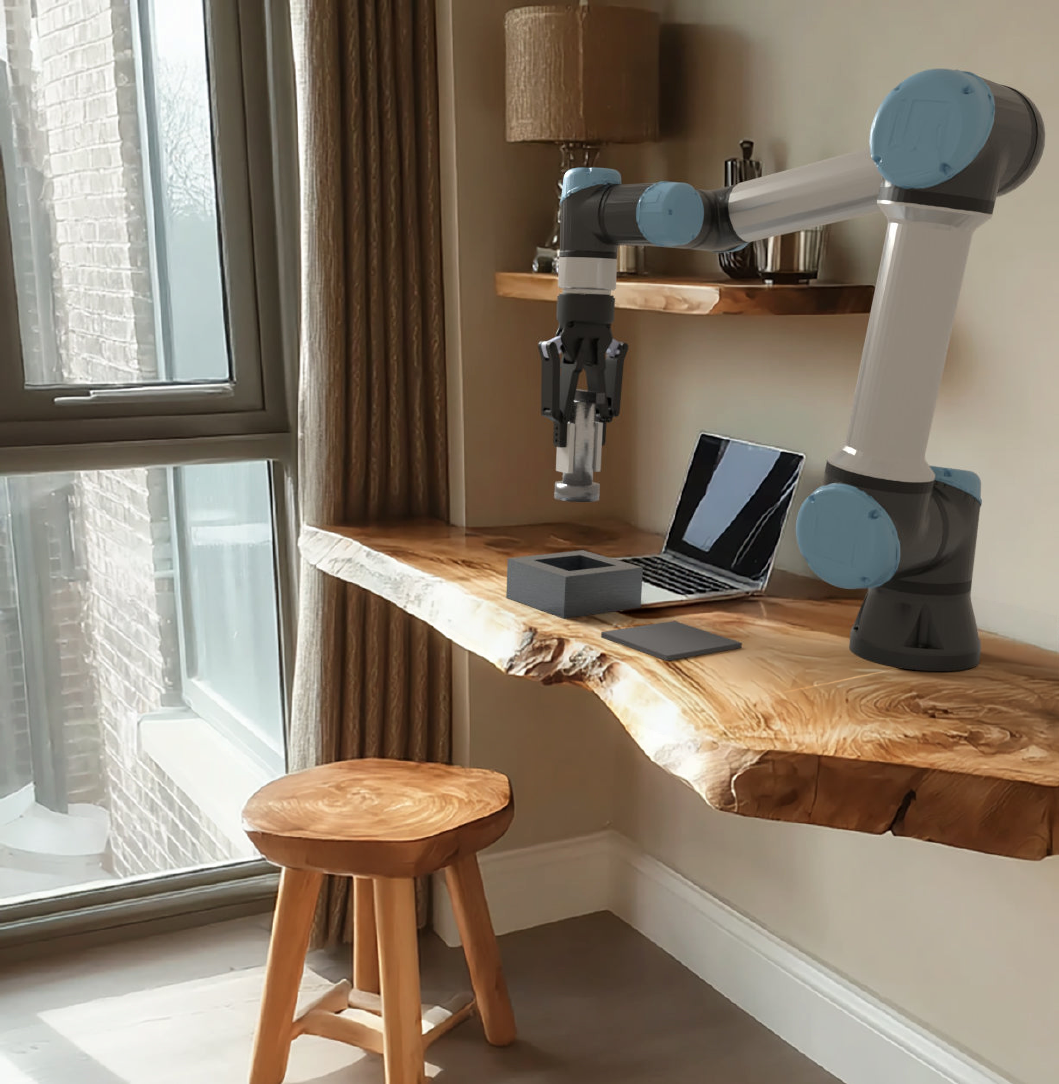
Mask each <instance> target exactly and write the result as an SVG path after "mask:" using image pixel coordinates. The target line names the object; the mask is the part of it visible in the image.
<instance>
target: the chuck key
mask: <svg viewBox="0 0 1059 1084" xmlns="http://www.w3.org/2000/svg"><path fill="white" fill-rule="evenodd" d="M604 402H605V393H603V392H595V391H588V389H587V390H586V389H580V388H577V389H576V394H575V398H574V403H573V408H572V413H571V418H570V421H569V423H573V424H575V434H574V456H573V473H564V472H562V480H558V481H555V482H554V492H553V493H554V495H553V498H554V499H556V500H559V501H563V502H564V501H565V502H570V503H571V502H572V503H589V502H590V503H591V502H593V503H594V502H597V501H598V502H599V501H600V489H601V488H600V487H601V485H600V483H599V482H595V481H593V480H594V471H593V461H594V440H595V419H596V404H604Z"/></svg>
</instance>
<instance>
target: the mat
mask: <svg viewBox="0 0 1059 1084" xmlns="http://www.w3.org/2000/svg"><path fill="white" fill-rule="evenodd" d="M600 637H601V638H603V639H606V640H609V641H611V642H614V643H617V644H620V645H622V646H625V647H628V648H630V649H633V650H636V651H639V652H642V653H643V654H644V653H645V654H647V655H650V656H652V657H655V658H657V659H661V660H663V661H666V662H667V661H669V662H670V661H675V660H680V659H686V658H690V657H695V656H702V655H706V654H713V653H719V652H724V651H729V650H735V649H742V648H743V647H742V646H743V645H742V644H743V643H742V642H741V641H738V640H735V639H731V638H729V637H726V636H722V635H719V634H717V633H713V632H710V631H707V630H704V629H702V628H699V627H695V626H692V625H689V624H687V623H686V624H685V623H683V622H680V621H677V620H670V621H664V622H659V623H658V622H657V623H651V624H647V625H646V624H645V625H639V626H632V627H626V628H620V629H614V630H613V629H612V630H606V631H601V633H600Z"/></svg>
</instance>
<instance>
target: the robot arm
mask: <svg viewBox="0 0 1059 1084" xmlns="http://www.w3.org/2000/svg"><path fill="white" fill-rule="evenodd" d="M874 114H875V115H874V117H873V120H872V123H871V126H870V131H869V143H868V144H869V147H865V148H861V149H858V150H854V151H851V152H848V153H843V154H840V155H837V156H833V157H830V158H829V157H828V158H826V159H822V160H818V161H815V162H811V163H808V164H807V163H806V164H804V165H799V166H797V167H792V168H790V169H786V170H783V171H778V172H775V173H771V174H768V175H764V176H760V177H757V178H753V179H750V180H745V181H742V182H739V183H737V184H732V185H728V186H725V187H720V188H718V189H711V190H707V189H702V188H701V189H700V188H694V186H692V185H691V184H689V183H686V182H676V181H668V180H664V181H663V180H662V181H659V182H647V183H646V182H645V183H644V182H643V183H628V184H627V183H626V184H624V183H622V176H621V173H620V172H619V171H618V170H616V169H613V168H607V167H605V168H604V167H575V168H570V169H568V170H567V171H566V172H565V174H564V176H563V181H562V189H561V190H562V191H561V196H560V198H561V199H560V201H559V206H560V229H559V230H560V231H559V232H560V234H559V254H558V255H559V256H558V275H557V276H558V277H557V278H558V279H557V287H558V288H559V289H562V292H561V293H558V295H557V296H556V297H557V299H556V300H557V301H556V320H557V323H558V328H557V331H556V333H555V337H553V338H551V339H549V340H547V341H545V340H540V341H539V342H538V343H537V347H538V352H539V355H540V359H541V368H540V369H541V370H540V371H541V373H540V374H541V377H540V378H541V379H540V380H541V382H540V383H541V388H540V389H541V391H540V399H541V401H540V408H541V409H540V414H541V416H542V417H543V418H547V419H548V420H549V421H551V422H553V433H552V434H553V439H552V440H553V441H552V443H553V447H556V458H555V459H556V460H555V471H556V472H558V473H563V472H564V473H573V456H574V434H575V424H573V423H569V421H570V418H571V413H572V408H573V403H574V398H575V394H576V389H578V382H579V378H580V373H582V372H583V370H584V371H585V378H586V385H587V390H588V391H595V392H603V393H605V402H604V404H596V419H595V440H594V461H593V472H597V473H599V472H601V470H602V469H601V467H602V450H603V449H602V446H603V447H604V446H605V444H606V441H607V440H606V437H607V435H606V434H607V433H606V432H607V423H609V424H610V423H611V422H612V421H613V418H617V417H619V416H620V411H621V400H622V390H623V389H622V387H623V377H624V376H623V375H624V365H625V364H624V363H625V359H626V356H627V353H628V351H629V345H628V343H627V342H622V341H618V340H616V339H614V336H613V332H612V328H611V326H612V324H613V322H614V321H615V309H616V308H615V307H616V297H614V294H613V295H612V291H616V289H617V270H618V269H617V268H618V252H619V250H618V248H619V246H621V247H622V246H638V247H639V246H641V247H643V246H644V247H649V246H650V247H658V248H659V247H661V248H662V247H663V248H673V249H674V248H675V249H683V250H684V249H686V250H694V251H695V250H696V251H706V252H711V253H714V254H715V253H716V254H722V253H731V252H738V251H740V250H743V249H744V248H746V247H747V246H748V245H749V244H750V243H751V242H756V241H759V240H765V239H769V238H773V237H777V236H782V235H787V234H791V233H795V232H799V231H804V230H808V229H812V228H813V229H814V228H817V227H820V226H825V225H829V224H833V223H834V224H835V223H838V222H843V221H846V220H852V219H855V218H861V217H865V216H869V215H873V214H876V213H877V214H878V213H883V215H884V216H885V217H886V219H887V227H886V232H885V236H884V237H885V238H884V243H883V247H882V252H881V258H880V263H879V268H878V273H877V277H876V282H875V287H874V294H873V299H872V304H871V307H870V308H871V309H870V313H869V319H868V322H867V329H866V333H865V339H864V344H863V349H862V352H861V358H860V365H859V369H858V375H857V379H856V384H855V387H854V388H855V390H854V394H853V399H852V403H851V409H850V415H849V420H848V425H847V429H846V435H845V439H844V440H845V441H844V443H843V444H842V445H841V446H840V447H839V448H838V449H836V450H834V451H833V452H831V453H830V454H828V456H827V459H826V464H825V467H824V473H823V478H822V484H821V486H819V487H817V488H816V489H815V490H814V491H812V492H811V493H810V494H809V495H808V496H807V497H806V498H805V500H804V501H803V502H802V504H801V505H800V508H799V510H798V513H797V516H796V522H795V536H796V541H797V546H798V549H799V551H800V554H801V556H802V557H803V559H804V560H805V561H806V562H807V564H808V568H809V569H810V570H811V571H812V572H813V573H814V574H815V575H816V576H817V577H819V578H820V579H821V580H822V581H824V582H826V583H828V584H830V585H832V586H834V587H837V588H840V589H846V590H857V589H868V590H867V592H866V594H865V597H864V598H863V601H862V604H861V605H860V608H859V611H858V612H857V615H856V619H855V620H854V623H853V625H852V627H851V629H850V632H849V633H850V635H849V644H848V646H849V647H848V648H849V650H850V652H852V653H853V654H854V655H856V656H857V657H859V658H862V659H864V660H867V661H869V662H873V663H876V664H880V665H883V666H888V667H889V666H890V667H893V668H899V669H905V670H913V669H915V671H925V672H954V671H962V670H963V671H964V670H968V669H971V668H975V667H976V666H978V665H979V664H980V660H981V650H982V642H981V639H980V637H979V631H978V625H977V621H976V616H975V612H974V608H973V602H972V596H971V594H972V592H971V591H972V584H973V583H972V582H973V577H974V575H973V573H974V568H975V567H974V566H975V558H976V557H975V556H976V547H977V539H978V538H977V537H978V530H979V521H980V512H981V507H982V503H983V500H982V497H981V495H982V494H981V493H982V480H981V478H980V476H979V475H978V474H977V473H976V472H974V471H972V470H967V469H959V468H950V467H942V466H936V465H929V464H928V462H927V460H926V452H927V447H928V442H929V437H930V433H931V429H932V424H933V419H934V415H935V409H936V405H937V400H938V397H939V392H940V387H941V383H942V377H943V375H944V374H943V373H944V369H945V364H946V359H947V355H948V350H949V345H950V341H951V336H952V331H953V327H954V322H955V316H956V313H957V308H958V303H959V300H960V299H959V298H960V295H961V290H962V285H963V281H964V276H965V271H966V267H967V262H968V257H969V252H970V247H971V244H972V238H973V234H974V233H975V232H976V230H977V229H978V228H980V227H982V225H984V224H985V223H987V222H989V220H991V219H992V217H993V213H994V209H995V205H996V200H997V198H1000V197H1002V196H1005V195H1007V194H1009V193H1011V192H1013V191H1014V190H1016V189H1017V188H1019V187H1020V186H1022V185H1023V184H1024V183H1025V182H1026V181H1028V179H1029V178H1030V177H1031V175H1033V173H1034V172H1035V171H1036V169H1037V167H1038V165H1039V164H1040V162H1041V159H1042V156H1043V153H1044V150H1045V146H1046V145H1045V144H1046V127H1045V122H1044V120H1043V117H1042V115H1041V112H1040V111H1039V108H1038V107H1037V106H1036V104H1035V102H1033V100H1032V99H1031V98H1030V97H1028V95H1026V94H1025V93H1023V92H1022V91H1020V90H1018V89H1016V88H1014V87H1011V86H1008V85H1004V84H999V83H997V82H995V81H992V80H989V79H987V78H984V77H981V76H978V74H976V73H974V72H971V71H967V70H966V71H965V70H959V69H951V68H950V69H949V68H930V69H925V70H921V71H920V72H916V73H914V74H912V75H910V76H908V77H907V78H905V79H904V80H903V81H901V82H900V83H899V84H897V86H895V87H894V88H892V89H891V90H890V91H889V93H888V94H886V96H885V97H884V99H883V100H882V102H881V103H880V105H879V107H878V108H877V110H876V112H875V113H874ZM605 354H606V355H605ZM560 355H561V357H560Z"/></svg>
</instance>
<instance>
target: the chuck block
mask: <svg viewBox="0 0 1059 1084" xmlns="http://www.w3.org/2000/svg"><path fill="white" fill-rule="evenodd" d="M506 564H507V567H506V595H505V597H506V598H507V599H509V600H511V601H514V602H517V603H520V604H522V605H526V606H528V607H531V608H534V609H536V610H540V611H542V612H544V613H548V614H551V615H553V616H556V617H559V618H561V619H569V618H576V617H582V616H589V615H598V614H605V613H610V612H617V611H619V612H620V611H624V610H632V609H639V608H640V609H641V608H642V607H641V606H642V591H643V590H642V589H643V588H642V587H643V574H644V573H643V572H644V568H643V566H640V565H635V564H633V563H629V562H625V561H621V560H618V559H616V558H611V557H607V556H605V555H601V554H597V553H594V552H591V551H588V550H584V549H581V550H573V551H563V552H555V553H554V552H553V553H545V554H535V555H527V556H519V557H518V556H516V557H508V558H507V563H506Z"/></svg>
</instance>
